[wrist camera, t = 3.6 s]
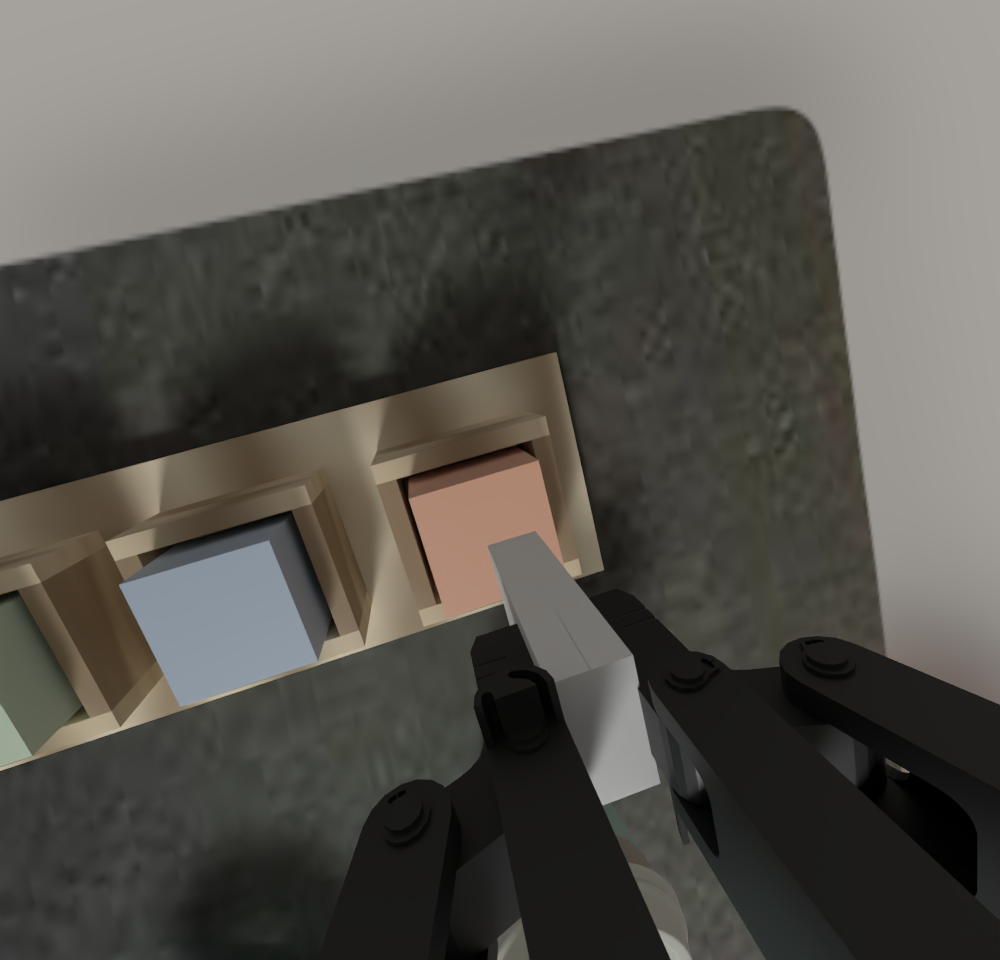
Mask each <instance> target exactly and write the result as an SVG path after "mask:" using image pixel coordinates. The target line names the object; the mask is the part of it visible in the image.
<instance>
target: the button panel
mask: <svg viewBox="0 0 1000 960" xmlns="http://www.w3.org/2000/svg"><path fill="white" fill-rule="evenodd" d="M514 446H517V447H518V448H520V449H521V450H523V451H525V452H526V453H528V454H529V455H531V456H533V457H534V458H536V459H537V460H539V464H540V468H541V472H542V476H543V480H544V485H545V489H546V493H547V497H548V501H549V505H550V509H551V513H552V518H553V522H554V526H555V530H556V534H557V538H558V542H559V547H560V551H561V555H562V559H563V563H564V567H565V569H566V570H567V572H568V573H569V574H570V575H571V577H572V578H573V579H574V580H575V579H578V578H581V577H584V576H587V575H590V574H593V573H596V572H600V571H603V570H604V567H603V563H602V558H601V554H600V549H599V544H598V540H597V535H596V531H595V526H594V522H593V517H592V512H591V508H590V503H589V499H588V494H587V490H586V485H585V480H584V476H583V471H582V467H581V462H580V458H579V453H578V449H577V444H576V439H575V435H574V430H573V426H572V421H571V417H570V412H569V407H568V403H567V398H566V394H565V389H564V385H563V380H562V375H561V371H560V366H559V362H558V357H557V353H556V352H554V353H549V354H545V355H542V356H538V357H534V358H531V359H527V360H523V361H519V362H516V363H512V364H508V365H505V366H501V367H497V368H493V369H490V370H486V371H482V372H478V373H475V374H471V375H467V376H464V377H460V378H456V379H452V380H449V381H445V382H441V383H438V384H434V385H430V386H426V387H423V388H419V389H415V390H411V391H408V392H404V393H400V394H397V395H393V396H389V397H385V398H382V399H378V400H374V401H371V402H367V403H363V404H359V405H356V406H352V407H348V408H344V409H341V410H337V411H333V412H330V413H326V414H322V415H318V416H315V417H311V418H307V419H304V420H300V421H296V422H292V423H289V424H285V425H281V426H277V427H274V428H270V429H266V430H263V431H259V432H255V433H251V434H248V435H244V436H240V437H237V438H233V439H229V440H225V441H222V442H218V443H214V444H210V445H207V446H203V447H199V448H196V449H192V450H188V451H184V452H181V453H177V454H173V455H170V456H166V457H162V458H158V459H155V460H151V461H147V462H143V463H140V464H136V465H132V466H129V467H125V468H121V469H117V470H114V471H110V472H106V473H102V474H99V475H95V476H91V477H88V478H84V479H80V480H76V481H73V482H69V483H65V484H62V485H58V486H54V487H50V488H47V489H43V490H39V491H35V492H32V493H28V494H24V495H21V496H17V497H13V498H9V499H6V500H2V501H0V596H2V595H5V594H9V593H12V592H15V591H19V593H20V595H21V597H22V598H23V600H24V602H25V604H26V605H27V607H28V609H29V611H30V612H31V614H32V616H33V618H34V620H35V621H36V623H37V625H38V627H39V628H40V630H41V632H42V634H43V635H44V637H45V639H46V641H47V643H48V644H49V646H50V648H51V650H52V651H53V653H54V655H55V657H56V658H57V660H58V662H59V664H60V666H61V667H62V669H63V671H64V673H65V674H66V676H67V678H68V680H69V682H70V683H71V685H72V687H73V689H74V690H75V692H76V694H77V696H78V697H79V699H80V701H81V703H82V705H83V706H82V707H81V708H80V709H79V710H78V711H77V712H76V713H75V714H74V715H73V716H72V717H71V718H70V719H69V720H68V721H67V722H66V723H65V724H64V725H63V726H62V727H61V728H60V729H59V730H58V731H57V732H56V733H55V734H54V735H53V736H52V737H51V738H50V739H49V740H48V741H47V742H46V743H45V744H44V745H43V746H42V747H41V748H40V749H39V750H38V751H37V752H36V753H35V754H34V755H33V756H31V757H28V758H25V759H22V760H18V761H15V762H12V763H9V764H6V765H3V766H0V771H1V770H4V769H7V768H10V767H13V766H16V765H19V764H22V763H25V762H28V761H31V760H34V759H37V758H40V757H43V756H46V755H49V754H52V753H55V752H58V751H61V750H64V749H67V748H70V747H73V746H76V745H79V744H82V743H85V742H88V741H91V740H94V739H97V738H100V737H103V736H106V735H109V734H112V733H115V732H118V731H121V730H124V729H127V728H130V727H133V726H136V725H139V724H142V723H145V722H148V721H151V720H154V719H157V718H160V717H163V716H166V715H169V714H172V713H175V712H178V711H181V710H184V709H187V708H190V707H193V706H197V705H200V704H203V703H206V702H209V701H212V700H215V699H218V698H221V697H224V696H227V695H230V694H233V693H236V692H239V691H242V690H245V689H248V688H251V687H254V686H257V685H260V684H263V683H266V682H269V681H272V680H275V679H278V678H281V677H284V676H287V675H290V674H293V673H296V672H299V671H302V670H305V669H308V668H311V667H314V666H317V665H320V664H323V663H326V662H329V661H332V660H335V659H338V658H341V657H344V656H347V655H350V654H353V653H356V652H359V651H362V650H365V649H368V648H371V647H374V646H377V645H380V644H383V643H386V642H389V641H392V640H395V639H398V638H401V637H404V636H407V635H410V634H413V633H416V632H419V631H422V630H425V629H428V628H431V627H434V626H437V625H440V624H443V623H446V622H449V621H452V620H455V619H458V618H461V617H464V616H467V615H470V614H473V613H476V612H479V611H482V610H485V609H488V608H491V607H494V606H497V605H500V604H503V600H501V601H498V602H495V603H492V604H489V605H486V606H483V607H480V608H477V609H474V610H471V611H468V612H465V613H462V614H459V615H456V616H453V617H450V618H446V615H445V612H444V608H443V605H442V602H441V599H440V596H439V593H438V590H437V586H436V583H435V580H434V577H433V574H432V571H431V568H430V565H429V561H428V558H427V555H426V552H425V549H424V546H423V543H422V539H421V536H420V533H419V530H418V527H417V524H416V521H415V518H414V514H413V511H412V508H411V505H410V502H409V477H411V476H414V475H417V474H421V473H424V472H428V471H431V470H435V469H438V468H441V467H445V466H448V465H452V464H455V463H459V462H462V461H465V460H469V459H472V458H476V457H479V456H483V455H486V454H490V453H493V452H496V451H500V450H503V449H507V448H510V447H514ZM290 511H292V513H293V515H294V518H295V521H296V523H297V526H298V528H299V531H300V534H301V536H302V539H303V541H304V544H305V546H306V549H307V552H308V554H309V557H310V559H311V562H312V565H313V567H314V570H315V572H316V575H317V578H318V580H319V583H320V585H321V588H322V590H323V593H324V596H325V598H326V601H327V603H328V606H329V609H330V611H331V614H332V619H331V622H330V626H329V629H328V632H327V635H326V638H325V641H324V644H323V647H322V650H321V654H320V657H319V660H318V661H317V662H314V663H311V664H308V665H305V666H302V667H299V668H296V669H293V670H290V671H287V672H284V673H281V674H278V675H275V676H272V677H269V678H266V679H263V680H260V681H257V682H254V683H251V684H248V685H245V686H242V687H239V688H236V689H233V690H230V691H227V692H224V693H221V694H218V695H215V696H212V697H209V698H206V699H202V700H199V701H196V702H193V703H190V704H187V705H184V706H181V707H180V705H179V703H178V701H177V699H176V697H175V695H174V694H173V692H172V690H171V688H170V686H169V684H168V682H167V680H166V678H165V676H164V674H163V672H162V670H161V668H160V666H159V664H158V662H157V660H156V658H155V656H154V654H153V652H152V650H151V648H150V646H149V644H148V642H147V640H146V638H145V636H144V634H143V632H142V630H141V628H140V626H139V624H138V622H137V620H136V618H135V616H134V614H133V612H132V610H131V608H130V606H129V604H128V602H127V600H126V598H125V596H124V594H123V592H122V590H121V588H120V586H119V584H121V583H122V582H124V581H125V580H126V579H128V578H129V577H131V576H132V575H133V574H135V573H136V572H138V571H139V570H140V569H142V568H143V567H145V566H146V565H148V564H149V563H150V562H152V561H153V560H155V559H156V558H157V557H159V556H160V555H162V554H163V553H164V552H166V551H167V550H169V549H170V548H171V547H173V546H174V545H177V544H180V543H184V542H187V541H191V540H194V539H198V538H201V537H204V536H208V535H211V534H215V533H218V532H222V531H225V530H228V529H232V528H235V527H239V526H242V525H246V524H249V523H253V522H256V521H259V520H263V519H266V518H270V517H273V516H277V515H280V514H283V513H287V512H290Z"/></svg>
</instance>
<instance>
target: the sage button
mask: <svg viewBox="0 0 1000 960" xmlns="http://www.w3.org/2000/svg"><path fill="white" fill-rule="evenodd" d="M82 706H83V705H82V703H81V701H80V699H79V697H78V696H77V694H76V692H75V690H74V689H73V687H72V685H71V683H70V682H69V680H68V678H67V676H66V674H65V673H64V671H63V669H62V667H61V666H60V664H59V662H58V660H57V658H56V657H55V655H54V653H53V651H52V650H51V648H50V646H49V644H48V643H47V641H46V639H45V637H44V635H43V634H42V632H41V630H40V628H39V627H38V625H37V623H36V621H35V620H34V618H33V616H32V614H31V612H30V611H29V609H28V607H27V605H26V604H25V602H24V600H23V598H22V597H21V595H20V593H19V591H15V592H12V593H9V594H5V595H2V596H0V766H3V765H6V764H9V763H12V762H15V761H18V760H22V759H25V758H28V757H31V756H33V755H34V754H35V753H36V752H37V751H38V750H39V749H40V748H41V747H42V746H43V745H44V744H45V743H46V742H47V741H48V740H49V739H50V738H51V737H52V736H53V735H54V734H55V733H56V732H57V731H58V730H59V729H60V728H61V727H62V726H63V725H64V724H65V723H66V722H67V721H68V720H69V719H70V718H71V717H72V716H73V715H74V714H75V713H76V712H77V711H78V710H79V709H80V708H81V707H82Z"/></svg>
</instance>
